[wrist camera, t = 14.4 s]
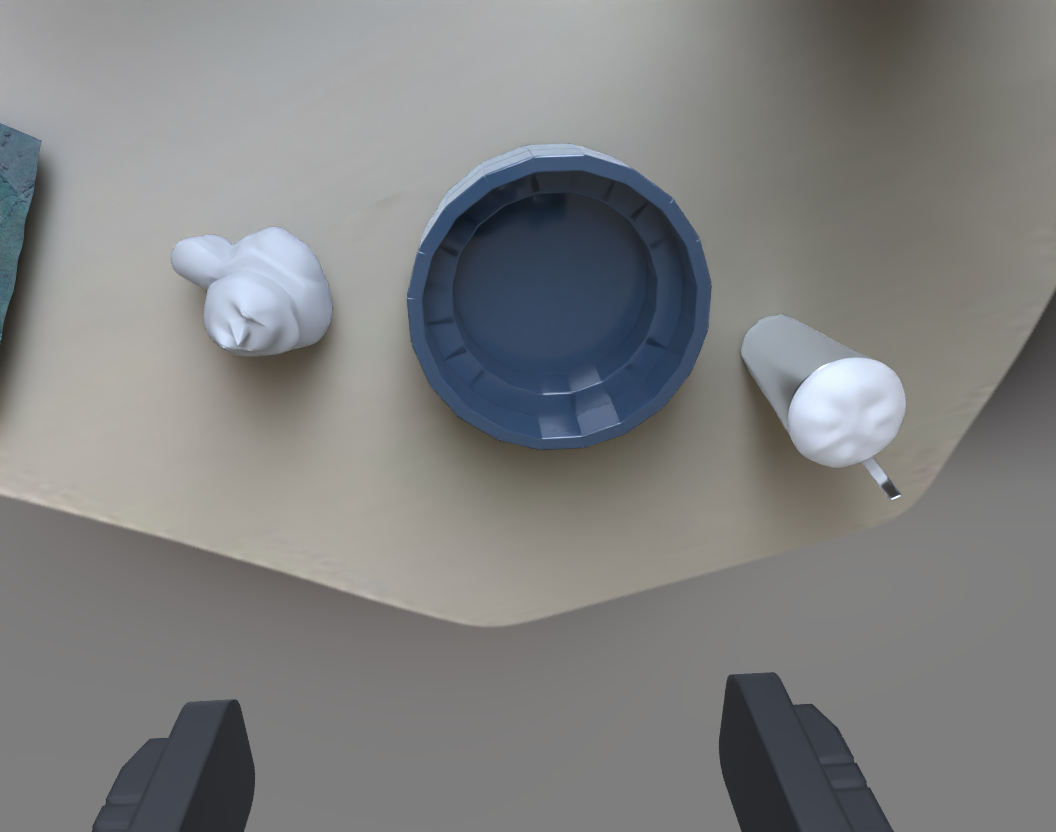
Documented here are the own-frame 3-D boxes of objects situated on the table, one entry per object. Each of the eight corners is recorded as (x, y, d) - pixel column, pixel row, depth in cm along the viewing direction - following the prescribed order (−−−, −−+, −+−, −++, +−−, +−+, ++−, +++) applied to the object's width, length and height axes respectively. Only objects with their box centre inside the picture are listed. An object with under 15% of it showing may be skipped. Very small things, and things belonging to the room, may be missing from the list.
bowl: (405, 147, 32) (392, 161, 27) (686, 137, 33) (722, 149, 28) (428, 408, 37) (421, 457, 32) (672, 395, 38) (700, 442, 33)
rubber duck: (304, 362, 36) (260, 436, 28) (172, 281, 34) (89, 338, 27) (365, 269, 34) (336, 323, 27) (231, 179, 32) (160, 210, 25)
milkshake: (754, 417, 38) (839, 525, 29) (712, 329, 36) (790, 416, 27) (838, 374, 38) (953, 471, 29) (800, 282, 36) (912, 355, 27)
